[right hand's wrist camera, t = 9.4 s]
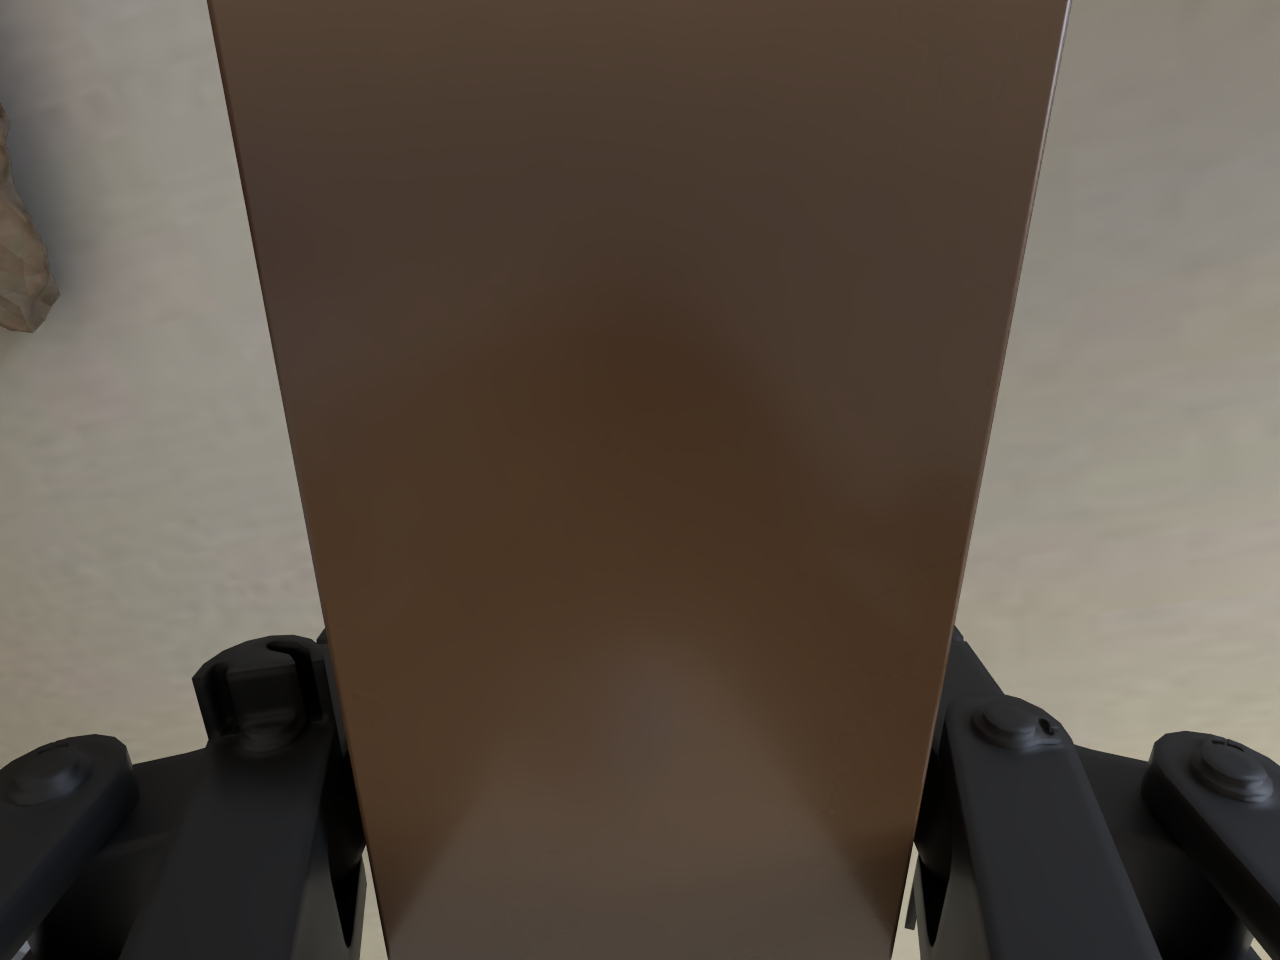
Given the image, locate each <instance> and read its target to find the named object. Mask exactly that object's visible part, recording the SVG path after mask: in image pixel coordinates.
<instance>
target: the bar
mask: <svg viewBox="0 0 1280 960" xmlns="http://www.w3.org/2000/svg"><path fill="white" fill-rule="evenodd" d="M207 4H208V10H209V15H210V20H211V25H212V31H213V36H214V41H215V47H216V52H217V57H218V63H219V68H220V73H221V78H222V84H223V89H224V94H225V100H226V105H227V110H228V115H229V121H230V126H231V131H232V137H233V142H234V147H235V152H236V158H237V163H238V168H239V174H240V179H241V184H242V190H243V195H244V200H245V205H246V211H247V216H248V221H249V227H250V232H251V237H252V242H253V248H254V253H255V258H256V264H257V269H258V274H259V280H260V285H261V290H262V295H263V301H264V306H265V311H266V317H267V322H268V327H269V332H270V338H271V343H272V348H273V354H274V359H275V364H276V370H277V375H278V380H279V385H280V391H281V396H282V401H283V407H284V412H285V417H286V422H287V428H288V433H289V438H290V444H291V449H292V454H293V460H294V465H295V470H296V475H297V481H298V486H299V491H300V497H301V502H302V507H303V512H304V518H305V523H306V528H307V534H308V539H309V544H310V549H311V555H312V560H313V565H314V571H315V576H316V581H317V587H318V592H319V597H320V602H321V608H322V613H323V618H324V624H325V629H326V634H327V639H328V645H329V650H330V655H331V661H332V666H333V671H334V677H335V682H336V687H337V692H338V698H339V703H340V708H341V714H342V719H343V724H344V729H345V735H346V740H347V745H348V751H349V756H350V761H351V766H352V772H353V777H354V782H355V788H356V793H357V798H358V804H359V809H360V814H361V819H362V825H363V830H364V835H365V841H366V846H367V851H368V856H369V862H370V867H371V872H372V878H373V883H374V888H375V894H376V899H377V904H378V909H379V915H380V920H381V925H382V931H383V936H384V941H385V946H386V952H387V957H388V960H891V958H892V953H893V947H894V942H895V937H896V932H897V926H898V921H899V916H900V910H901V905H902V900H903V894H904V889H905V884H906V879H907V873H908V868H909V863H910V857H911V852H912V847H913V841H914V836H915V831H916V826H917V820H918V815H919V810H920V804H921V799H922V794H923V788H924V783H925V778H926V773H927V767H928V762H929V757H930V751H931V746H932V741H933V735H934V730H935V725H936V719H937V714H938V709H939V704H940V698H941V693H942V688H943V682H944V677H945V672H946V666H947V661H948V656H949V651H950V645H951V640H952V635H953V629H954V624H955V619H956V613H957V608H958V603H959V598H960V592H961V587H962V582H963V576H964V571H965V566H966V560H967V555H968V550H969V545H970V539H971V534H972V529H973V523H974V518H975V513H976V507H977V502H978V497H979V492H980V486H981V481H982V476H983V470H984V465H985V460H986V454H987V449H988V444H989V438H990V433H991V428H992V423H993V417H994V412H995V407H996V401H997V396H998V391H999V385H1000V380H1001V375H1002V370H1003V364H1004V359H1005V354H1006V348H1007V343H1008V338H1009V332H1010V327H1011V322H1012V317H1013V311H1014V306H1015V301H1016V295H1017V290H1018V285H1019V279H1020V274H1021V269H1022V264H1023V258H1024V253H1025V248H1026V242H1027V237H1028V232H1029V226H1030V221H1031V216H1032V211H1033V205H1034V200H1035V195H1036V189H1037V184H1038V179H1039V173H1040V168H1041V163H1042V157H1043V152H1044V147H1045V142H1046V136H1047V131H1048V126H1049V120H1050V115H1051V110H1052V104H1053V99H1054V94H1055V89H1056V83H1057V78H1058V73H1059V67H1060V62H1061V57H1062V51H1063V46H1064V41H1065V36H1066V30H1067V25H1068V20H1069V14H1070V9H1071V4H1072V0H207Z"/></svg>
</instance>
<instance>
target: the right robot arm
mask: <svg viewBox="0 0 1280 960" xmlns="http://www.w3.org/2000/svg"><path fill="white" fill-rule="evenodd" d="M192 681H193V685H194V689H195V692H196V696H197V699H198V703H199V707H200V710H201V714H202V717H203V721H204V725H205V728H206V732H207V735H208V739H209V740H208V743H207V745H206V747H205V748H203V749H199V750H196V751H192V752H189V753H184V754H180V755H175V756H171V757H166V758H161V759H157V760H152V761H147V762H143V763H138V764H134V765H132V763H131V760H130V757H129V754H128V751H127V748H126V746H125V745H124V744H123V743H122V742H120V741H119V740H118V739H117V738H115V737H111V736H105V735H98V734H92V735H84V736H77V737H69V738H66V739H63V740H59V741H56V742H54V743H53V742H52V743H49V744H46V745H44V746H41V747H38V748H37V749H35V750H33V751H31V752H29V753H27V754H25V755H23V756H21V757H19V758H17V759H15V760H13V761H11V762H10V763H9V764H7V765H6V766H5V767H3V768H2V769H1V770H0V960H359V959H360V948H361V938H362V928H363V918H364V908H365V898H366V888H367V882H366V875H365V869H364V864H363V858H362V853H363V850H364V848H365V845H366V841H365V835H364V830H363V825H362V819H361V814H360V809H359V804H358V798H357V793H356V788H355V782H354V777H353V772H352V766H351V761H350V756H349V751H348V745H347V740H346V735H345V729H344V724H343V719H342V714H341V708H340V703H339V698H338V692H337V687H336V682H335V677H334V671H333V666H332V661H331V655H330V650H329V645H328V639H327V634H326V629H324V630H323V631H322V633H321V634H320V636H319V637H318V638H317V643H315V642H314V641H313V640H312V639H309V638H305V637H300V636H296V635H274V636H267V637H263V638H258V639H254V640H249V641H246V642H243V643H241V644H238V645H236V646H234V647H231V648H229V649H226V650H224V651H222V652H221V653H219V654H218V655H216V656H215V657H213V658H212V659H210V660H209V661H207V662H206V663H204V664H203V665H202V667H201V668H200V669H199V670H198V671H197V673H196V674H195V675H194V676H193V678H192ZM914 843H915V845H916V848H917V850H918V858H917V864H916V869H915V874H914V879H913V884H912V889H911V895H910V900H909V905H908V910H907V916H906V922H905V928H907V929H911V930H914V929H915V924H916V919H917V926H918V936H919V946H920V957H921V960H1261V958H1260V957H1259V956H1258V955H1257V953H1256V952H1255V951H1254V950H1253V948H1252V947H1251V946H1250V945H1251V942H1252V940H1253V938H1254V937H1255V939H1256V940H1257V941H1258V942H1259V944H1260V945H1261V946H1262V947H1263V949H1264V950H1265V951H1266V952H1267V954H1268V955H1269V956H1270V957H1271V959H1272V960H1280V766H1279V765H1278V764H1276V763H1275V762H1274V761H1272V760H1271V759H1270V758H1268V757H1266V756H1264V755H1262V754H1260V753H1258V752H1256V751H1254V750H1252V749H1250V748H1248V747H1246V746H1245V745H1243V744H1241V743H1238V742H1235V741H1232V740H1230V739H1225V738H1223V737H1219V736H1215V735H1212V734H1206V733H1198V732H1190V731H1181V732H1174V733H1168V734H1165V735H1164V736H1162V737H1161V738H1160V739H1159V740H1157V741H1156V742H1155V743H1154V746H1153V749H1152V752H1151V755H1150V758H1149V761H1148V762H1147V761H1142V760H1138V759H1133V758H1128V757H1124V756H1119V755H1114V754H1110V753H1105V752H1100V751H1096V750H1092V749H1088V748H1084V747H1081V746H1077V745H1074V744H1073V741H1072V739H1071V737H1070V736H1069V735H1068V733H1067V732H1066V730H1065V729H1064V727H1063V726H1062V725H1061V723H1060V722H1058V721H1057V720H1056V719H1055V718H1053V717H1052V716H1051V715H1049V714H1048V713H1047V712H1045V711H1044V710H1043V709H1041V708H1039V707H1037V706H1035V705H1033V704H1031V703H1029V702H1026V701H1024V700H1022V699H1020V698H1016V697H1012V696H1009V695H1005V694H1004V693H1003V692H1002V690H1001V689H1000V687H999V686H998V685H997V683H996V682H995V681H994V679H993V678H992V676H991V675H990V674H989V672H988V671H987V669H986V668H985V667H984V665H983V664H982V662H981V661H980V660H979V658H978V657H977V655H976V654H975V653H974V651H973V650H972V648H971V647H970V646H969V644H968V643H967V642H966V641H964V640H963V636H962V635H961V633H960V632H959V630H958V629H957V628H956V626H955V625H954V629H953V635H952V640H951V645H950V651H949V656H948V661H947V666H946V672H945V677H944V682H943V688H942V693H941V698H940V704H939V709H938V714H937V719H936V725H935V730H934V735H933V741H932V746H931V751H930V757H929V762H928V767H927V773H926V778H925V783H924V788H923V794H922V799H921V804H920V810H919V815H918V820H917V826H916V831H915V836H914Z"/></svg>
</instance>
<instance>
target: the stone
mask: <svg viewBox="0 0 1280 960" xmlns="http://www.w3.org/2000/svg"><path fill="white" fill-rule="evenodd" d="M9 125H10V120H9V118H8V116H7V115H6V113H5V111H4V110H3V108H2V106H1V104H0V325H1V326H3V327H5V328H7V329H9V330H12V331H21V332H30V333H34V331H35V330H36V329H37V328H38V327H39V326H40V325H41V324H42V323H43V321H44V320H45V319H46V317H47V314H48V312H49V310H50V308H51V306H52V305H53V304H54V302H55V301H56V300H57V298H58V297H59V296H60V293H59V290H58V287H57V285H56V282H55V280H54V278H53V275H52V273H51V271H50V269H49V265H48V257H47V252H46V246H45V245H44V244H43V243H42V241H41V238H40V236H39V234H38V232H37V229H36V227H35V225H34V223H33V221H32V219H31V217H30V215H29V213H28V211H27V209H26V207H25V205H24V203H23V201H22V199H21V198H20V196H19V194H18V192H17V191H16V189H15V187H14V184H13V180H12V175H11V166H12V163H11V159H10V156H9V152H8V149H7V145H6V140H7V135H8V130H9Z"/></svg>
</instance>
